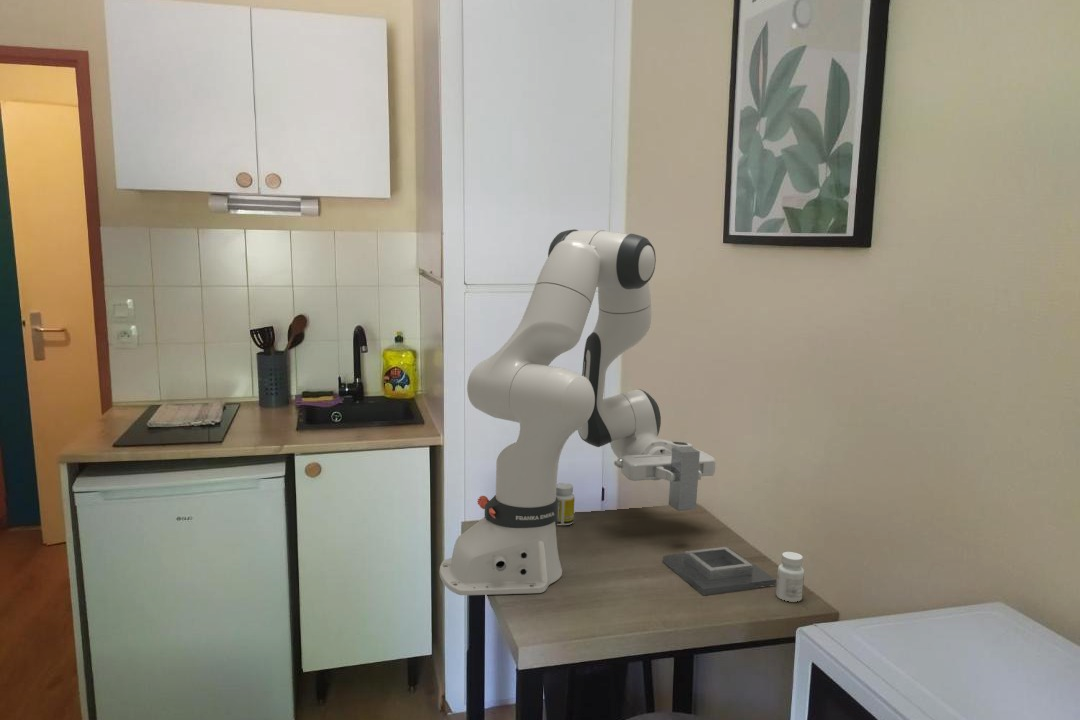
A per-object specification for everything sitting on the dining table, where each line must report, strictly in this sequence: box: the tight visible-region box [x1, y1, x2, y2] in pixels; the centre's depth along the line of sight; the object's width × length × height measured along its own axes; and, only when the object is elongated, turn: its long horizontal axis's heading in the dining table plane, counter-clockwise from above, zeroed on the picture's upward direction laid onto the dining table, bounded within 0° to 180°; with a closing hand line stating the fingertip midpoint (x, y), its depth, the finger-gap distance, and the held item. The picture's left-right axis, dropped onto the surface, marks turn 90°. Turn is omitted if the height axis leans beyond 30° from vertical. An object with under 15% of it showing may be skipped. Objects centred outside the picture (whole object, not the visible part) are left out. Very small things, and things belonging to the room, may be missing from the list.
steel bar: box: [668, 447, 700, 512], centre depth 153 cm, size 4×4×12 cm
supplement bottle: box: [556, 482, 575, 525], centre depth 166 cm, size 5×5×8 cm
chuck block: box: [662, 546, 777, 597], centre depth 142 cm, size 15×15×3 cm
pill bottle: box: [775, 551, 805, 603], centre depth 133 cm, size 4×4×8 cm
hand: (686, 477), depth 153 cm, fingers closed on steel bar, 4 cm apart
